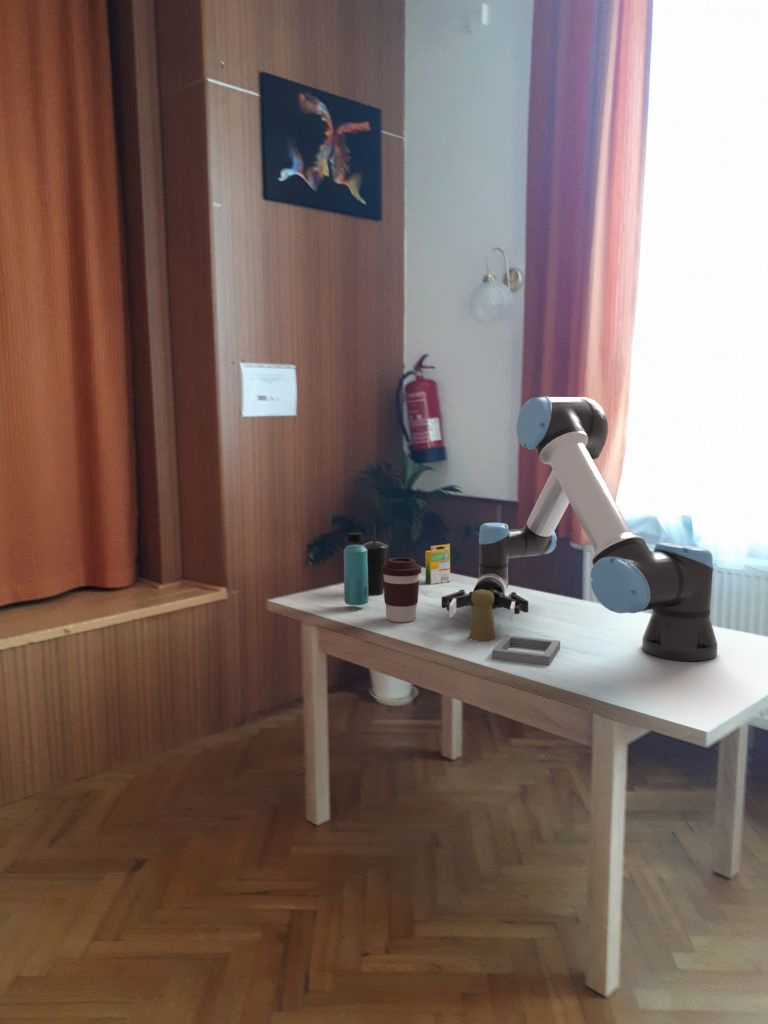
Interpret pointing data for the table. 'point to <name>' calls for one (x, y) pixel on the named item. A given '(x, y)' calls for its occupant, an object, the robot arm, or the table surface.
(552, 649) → the gray square frame
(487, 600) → the cork
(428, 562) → the crayon box
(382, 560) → the drinking cup
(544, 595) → the table surface
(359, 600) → the beverage bottle
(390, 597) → the coffee cup
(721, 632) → the table surface
